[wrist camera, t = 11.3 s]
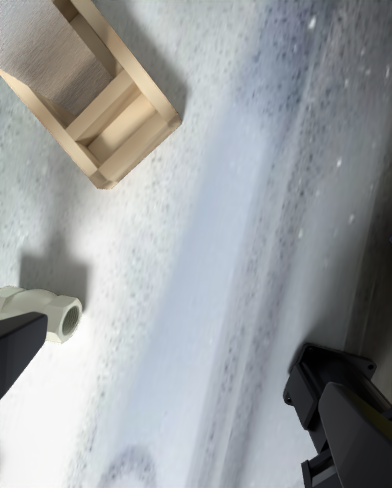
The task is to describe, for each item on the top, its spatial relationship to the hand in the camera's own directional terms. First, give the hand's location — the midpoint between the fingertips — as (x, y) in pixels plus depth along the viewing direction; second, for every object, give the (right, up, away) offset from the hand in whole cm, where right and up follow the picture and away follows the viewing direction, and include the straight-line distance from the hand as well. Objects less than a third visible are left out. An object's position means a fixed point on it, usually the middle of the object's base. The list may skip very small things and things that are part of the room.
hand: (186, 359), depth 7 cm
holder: (-8, +15, +11) cm, 20 cm away
